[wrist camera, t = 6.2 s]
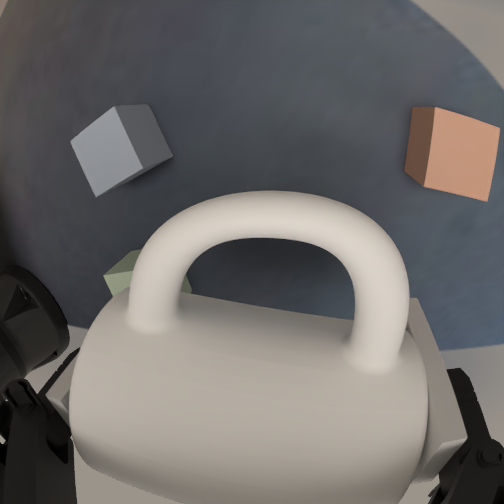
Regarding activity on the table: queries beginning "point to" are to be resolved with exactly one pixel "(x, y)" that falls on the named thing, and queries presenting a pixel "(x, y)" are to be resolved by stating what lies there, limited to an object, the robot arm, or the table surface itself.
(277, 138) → the table surface
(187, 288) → the sage block
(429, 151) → the terracotta block
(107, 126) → the slate block
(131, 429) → the mug
